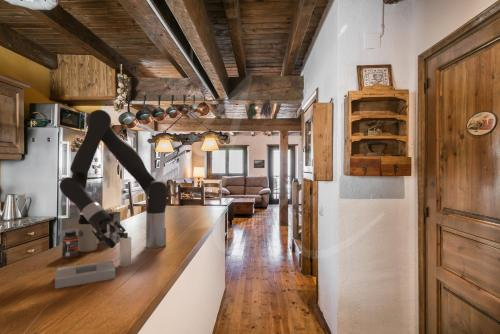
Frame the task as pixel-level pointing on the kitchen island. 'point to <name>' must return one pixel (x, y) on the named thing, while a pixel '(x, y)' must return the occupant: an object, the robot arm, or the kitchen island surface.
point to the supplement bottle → (70, 245)
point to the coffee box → (115, 217)
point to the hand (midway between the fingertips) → (120, 244)
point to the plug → (125, 250)
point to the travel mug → (86, 236)
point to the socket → (84, 274)
